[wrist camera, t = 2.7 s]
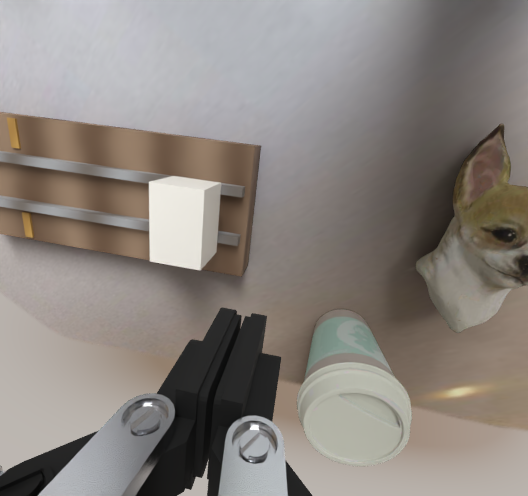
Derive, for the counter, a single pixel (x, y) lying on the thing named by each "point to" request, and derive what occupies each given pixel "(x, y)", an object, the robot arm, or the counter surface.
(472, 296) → the ceramic sculpture
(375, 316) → the counter surface
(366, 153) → the counter surface
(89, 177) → the linear slide rail
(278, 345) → the counter surface
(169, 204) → the white block
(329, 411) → the coffee cup
